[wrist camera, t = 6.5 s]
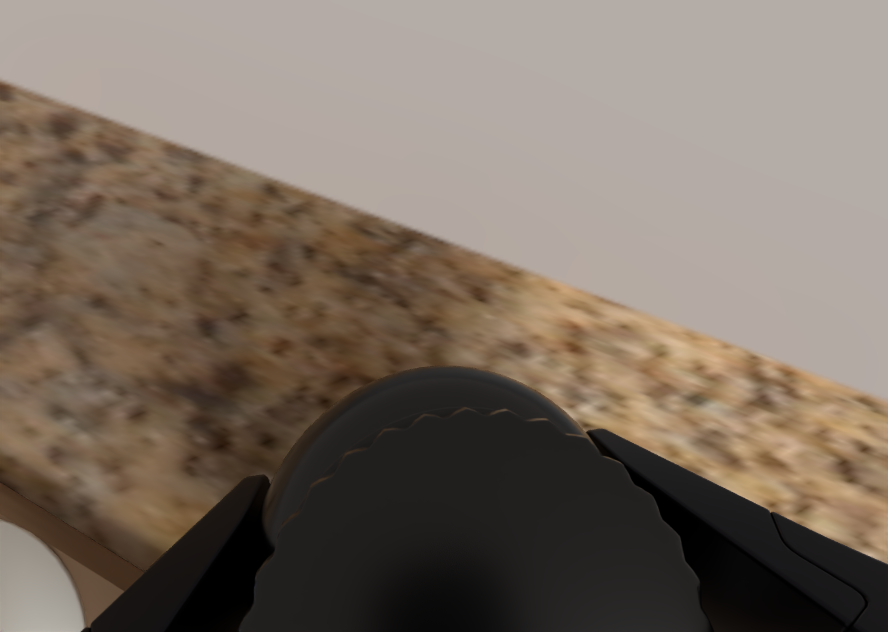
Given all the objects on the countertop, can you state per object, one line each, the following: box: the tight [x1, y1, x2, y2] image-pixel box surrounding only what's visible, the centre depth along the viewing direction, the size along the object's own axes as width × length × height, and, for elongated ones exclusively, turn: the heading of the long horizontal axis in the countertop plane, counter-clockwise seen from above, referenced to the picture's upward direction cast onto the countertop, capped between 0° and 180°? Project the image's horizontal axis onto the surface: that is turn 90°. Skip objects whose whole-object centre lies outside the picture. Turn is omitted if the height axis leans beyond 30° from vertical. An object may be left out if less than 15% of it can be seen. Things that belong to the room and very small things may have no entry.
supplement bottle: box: [238, 366, 714, 632], centre depth 10 cm, size 7×7×12 cm
